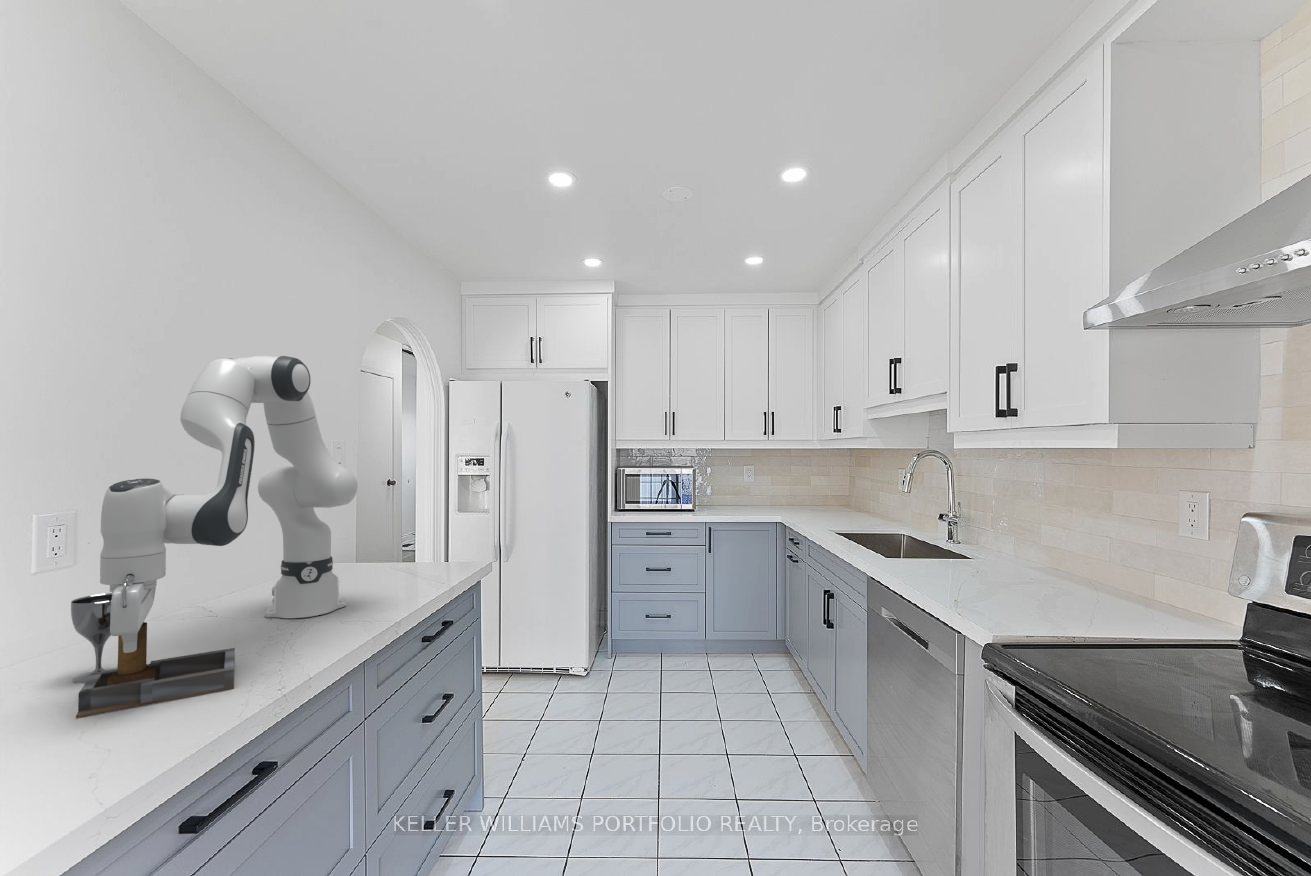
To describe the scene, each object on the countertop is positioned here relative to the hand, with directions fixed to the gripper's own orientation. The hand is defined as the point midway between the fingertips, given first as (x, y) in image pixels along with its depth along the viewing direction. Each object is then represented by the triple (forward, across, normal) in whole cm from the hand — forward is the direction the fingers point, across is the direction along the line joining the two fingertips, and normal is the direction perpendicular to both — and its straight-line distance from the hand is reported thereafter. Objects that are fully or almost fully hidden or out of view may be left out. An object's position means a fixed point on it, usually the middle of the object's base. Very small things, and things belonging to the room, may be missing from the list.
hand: (132, 647), depth 105 cm
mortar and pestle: (+7, 0, 0) cm, 7 cm away
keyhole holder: (+8, 0, -4) cm, 10 cm away
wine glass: (+9, +15, +7) cm, 18 cm away
